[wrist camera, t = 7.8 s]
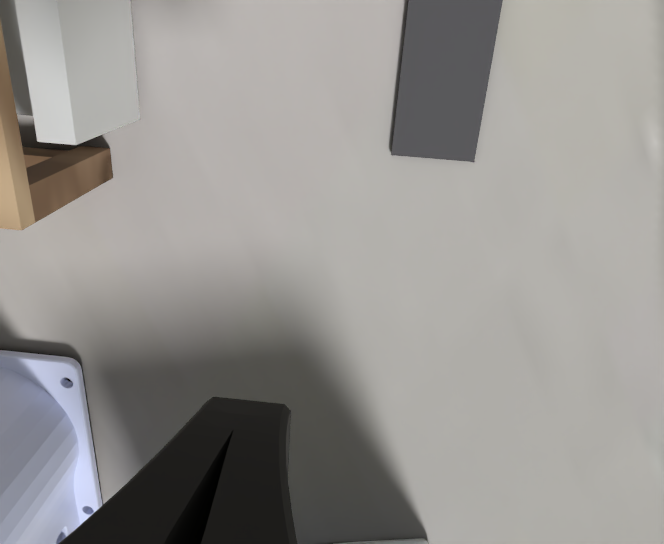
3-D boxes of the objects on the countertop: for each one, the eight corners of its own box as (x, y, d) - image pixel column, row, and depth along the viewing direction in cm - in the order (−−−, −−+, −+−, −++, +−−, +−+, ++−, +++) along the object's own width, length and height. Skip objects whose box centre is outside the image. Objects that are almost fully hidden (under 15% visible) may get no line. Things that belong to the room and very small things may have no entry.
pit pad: (472, 160, 17) (474, 161, 17) (391, 153, 17) (391, 154, 17) (511, -59, 15) (513, -60, 15) (415, -65, 15) (415, -66, 15)
